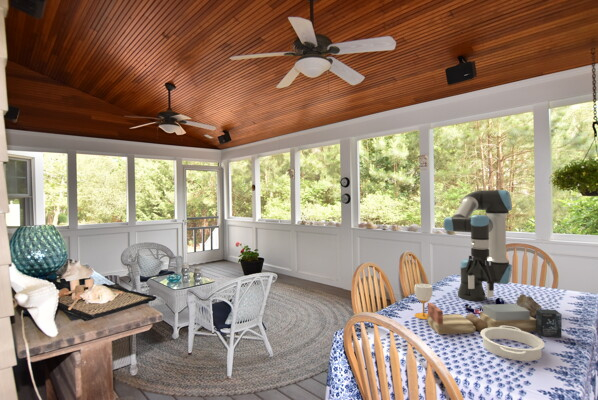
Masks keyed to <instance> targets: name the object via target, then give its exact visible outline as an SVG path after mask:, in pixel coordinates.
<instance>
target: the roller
mask: <svg viewBox="0 0 598 400" xmlns="http://www.w3.org/2000/svg"><path fill="white" fill-rule="evenodd" d="M465 318H466V319H468V320H469V321H470V322H472V323H473V326H475V327H476V330H477V331H479V332H481V331H482V330H483V329H485V328H488V325H487V323H486V322H484V321H483V320H481V319H480V317H478V316H476V315H475V314H473V313H468V314H467V315H466V316H465Z"/></svg>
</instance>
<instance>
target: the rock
mask: <svg viewBox="0 0 598 400" xmlns="http://www.w3.org/2000/svg"><path fill="white" fill-rule="evenodd" d="M516 305H518V306H521V307H523V308H525V309H527V310H529V311H530V317H532V318H533V317H536V309H542V305H540V304H539V303H538V302H537V301H535V300H534V298H533V297H532V296H527V295H525V294H524V293H523V294H520V295H518V296H517V299H516Z"/></svg>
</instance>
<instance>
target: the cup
mask: <svg viewBox="0 0 598 400" xmlns="http://www.w3.org/2000/svg"><path fill="white" fill-rule="evenodd" d="M433 291H434V290H433V286H432V285H431V284H429V283H416V284H414V294H415V297H416V299H417V301H419V303H421V304H422V312H417V313H414V317H415V318H417V319H418V320H419V319H420V320H427V321H428V312H427V313H426V312H425V311H426V310H425V303H429V302H430V300H431V299H432V296H433V293H434V292H433Z"/></svg>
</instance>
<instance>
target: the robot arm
mask: <svg viewBox="0 0 598 400" xmlns="http://www.w3.org/2000/svg"><path fill="white" fill-rule="evenodd" d="M512 206H513V204H512V198H511V193H510V191H508V190H505V189H494V190H493V189H491V190H489V189H488V190H484V189H483V190H482V189H481V190H475V191H472V192H470V193H468V194H466V195H465V196H464V197H463V198H461V200H460V205H459V207H458V208H457V209H456V211H455V212H454V214H453V215H452V216H446V217H445V218H444V219H443V228H444V230H445V231H446V232H453V233H454V232H456V233H457V232H458V233H470V241H471V243H470V244H471V245H470V246H471V248H470V254H471V255H468V258H464V259H462V260H461V261H460V268H459V269H460V285H459V287H458V290H457V297H458V298H460V299H463V300H465V301H466V300H468V301H473V302H474V301H476V302H477V301H485V300H486V299H487V298H494V291H495V288H494V287H495V284H499V285H508V284H509V283H510V282H511V277H512V272H513V265H512V264H511V263H510V260H508V259H507V248H506V247H507V245H506V243H507V241H506V240H507V236H506V235H507V234H506V233H507V231H506V226H507V225H506V224H507V223H506V220H507V218H506V217H507V216H508V215H509V214H510V213H509V212H511V211H512V209H513V207H512ZM477 210H478V211H485V214H475V215H474V214H473V213H474V212H476V211H477ZM472 214H473V215H472ZM483 282H484V283H486V291H485V289H484V287H483Z"/></svg>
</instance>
